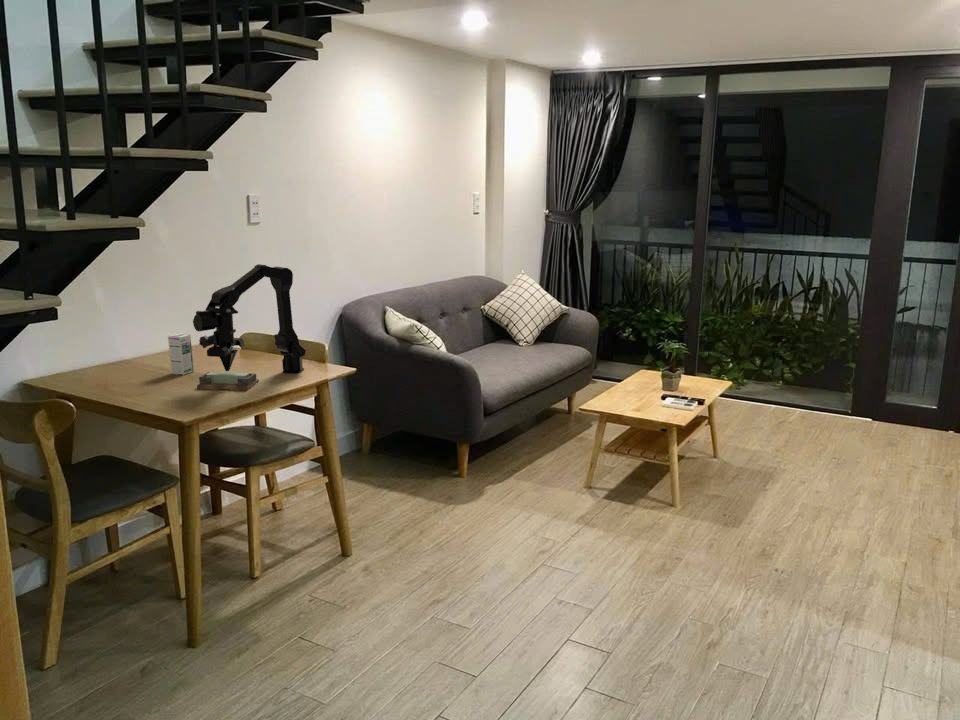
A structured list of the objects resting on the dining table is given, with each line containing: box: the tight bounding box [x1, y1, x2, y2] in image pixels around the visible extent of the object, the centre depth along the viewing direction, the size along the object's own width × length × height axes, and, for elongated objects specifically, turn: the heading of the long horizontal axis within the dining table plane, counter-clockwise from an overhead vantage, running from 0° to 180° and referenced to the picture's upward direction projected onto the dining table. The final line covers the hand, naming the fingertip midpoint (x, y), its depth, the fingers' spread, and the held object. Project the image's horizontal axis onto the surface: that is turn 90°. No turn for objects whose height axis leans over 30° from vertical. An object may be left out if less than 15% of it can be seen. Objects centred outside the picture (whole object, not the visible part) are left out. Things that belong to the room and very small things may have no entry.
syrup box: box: [167, 332, 194, 376], centre depth 299 cm, size 6×6×14 cm
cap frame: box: [196, 371, 260, 391], centre depth 283 cm, size 18×11×4 cm, turn 85°
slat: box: [206, 371, 249, 384], centre depth 283 cm, size 14×4×3 cm, turn 86°
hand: (227, 371), depth 282 cm, fingers closed
